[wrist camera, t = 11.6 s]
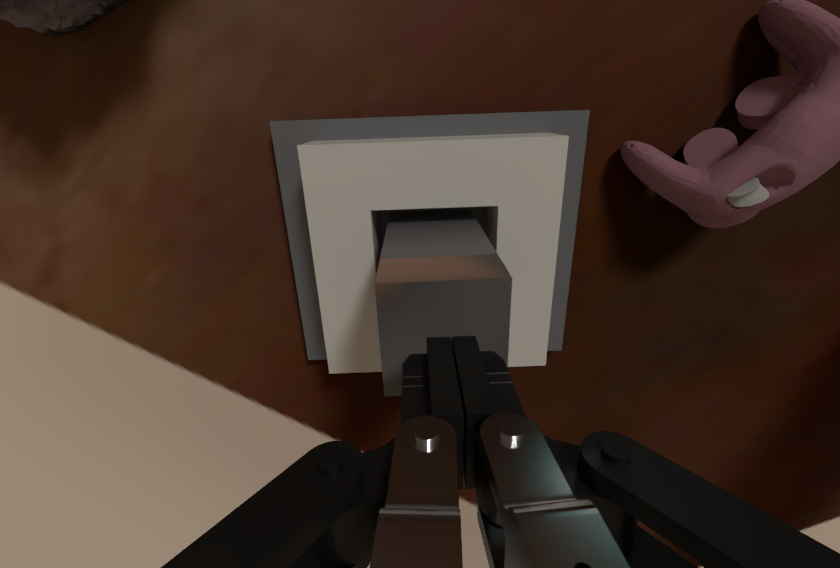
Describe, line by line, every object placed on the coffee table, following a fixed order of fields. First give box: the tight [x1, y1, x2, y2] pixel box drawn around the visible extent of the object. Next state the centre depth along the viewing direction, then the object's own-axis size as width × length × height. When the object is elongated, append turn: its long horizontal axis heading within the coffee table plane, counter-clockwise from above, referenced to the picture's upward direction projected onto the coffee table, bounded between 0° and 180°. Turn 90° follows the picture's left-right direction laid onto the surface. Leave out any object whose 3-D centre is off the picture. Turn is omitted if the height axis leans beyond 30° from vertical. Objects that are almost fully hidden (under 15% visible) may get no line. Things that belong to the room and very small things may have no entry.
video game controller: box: [621, 0, 840, 228], centre depth 19 cm, size 10×5×7 cm, turn 138°
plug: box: [374, 210, 512, 396], centre depth 18 cm, size 4×4×10 cm
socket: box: [269, 110, 590, 374], centre depth 22 cm, size 16×14×4 cm
